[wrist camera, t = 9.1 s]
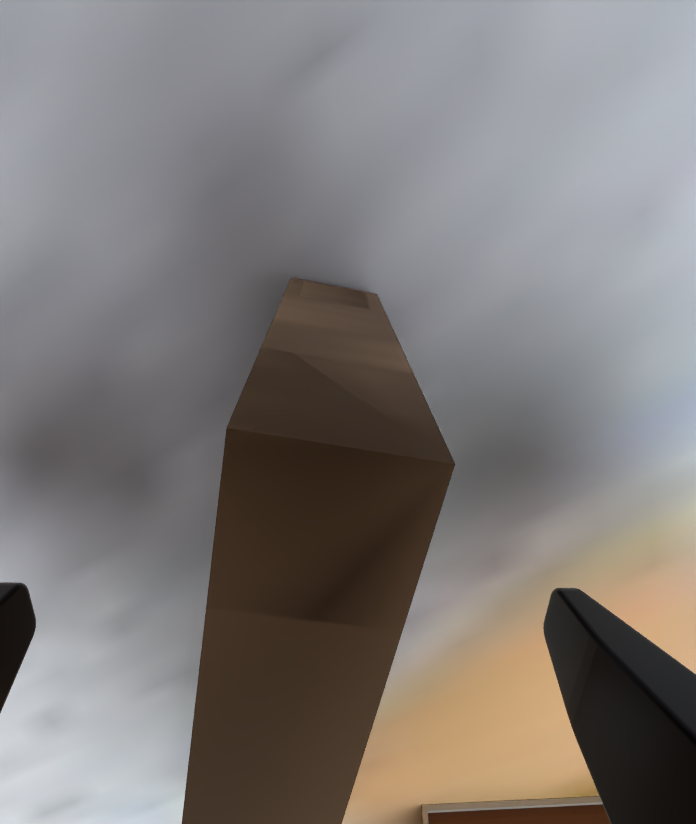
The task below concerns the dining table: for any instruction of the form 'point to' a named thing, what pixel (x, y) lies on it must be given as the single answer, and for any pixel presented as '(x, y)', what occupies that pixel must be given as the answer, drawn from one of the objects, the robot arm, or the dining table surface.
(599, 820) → the food container
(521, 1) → the dining table surface
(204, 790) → the wooden frame
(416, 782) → the dining table surface
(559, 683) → the robot arm
